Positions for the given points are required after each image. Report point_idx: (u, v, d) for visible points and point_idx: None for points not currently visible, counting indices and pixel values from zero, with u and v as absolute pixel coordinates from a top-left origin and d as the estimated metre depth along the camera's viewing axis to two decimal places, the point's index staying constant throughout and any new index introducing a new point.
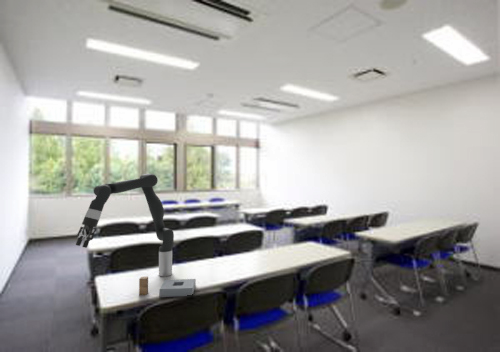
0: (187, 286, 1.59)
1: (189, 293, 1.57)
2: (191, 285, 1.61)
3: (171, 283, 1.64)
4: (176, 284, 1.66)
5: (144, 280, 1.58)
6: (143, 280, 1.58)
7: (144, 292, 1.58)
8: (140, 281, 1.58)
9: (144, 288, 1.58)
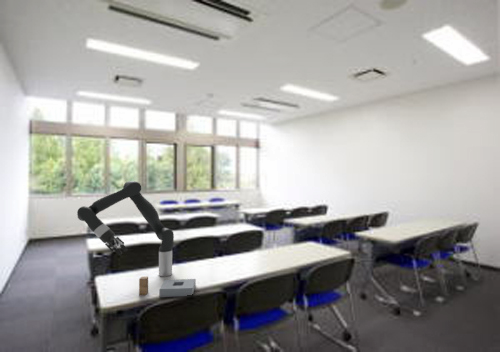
0: (187, 286, 1.59)
1: (189, 293, 1.57)
2: (191, 285, 1.61)
3: (171, 283, 1.64)
4: (176, 284, 1.66)
5: (144, 280, 1.58)
6: (143, 280, 1.58)
7: (144, 292, 1.58)
8: (140, 281, 1.58)
9: (144, 288, 1.58)
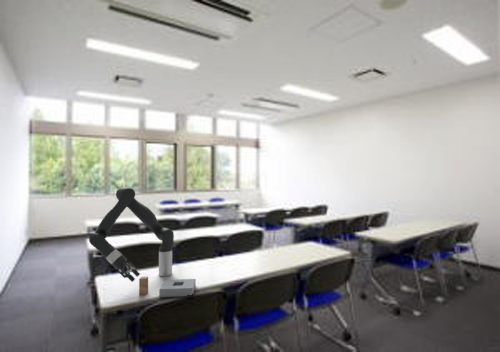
0: (187, 286, 1.59)
1: (189, 293, 1.57)
2: (191, 285, 1.61)
3: (171, 283, 1.64)
4: (176, 284, 1.66)
5: (144, 280, 1.58)
6: (143, 280, 1.58)
7: (144, 292, 1.58)
8: (140, 281, 1.58)
9: (144, 288, 1.58)
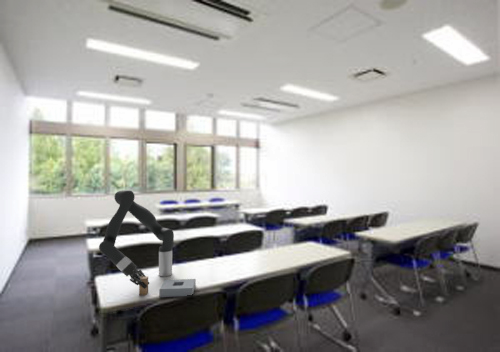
0: (187, 286, 1.59)
1: (189, 293, 1.57)
2: (191, 285, 1.61)
3: (171, 283, 1.64)
4: (176, 284, 1.66)
5: (144, 280, 1.58)
6: (143, 280, 1.58)
7: (144, 292, 1.58)
8: None
9: None
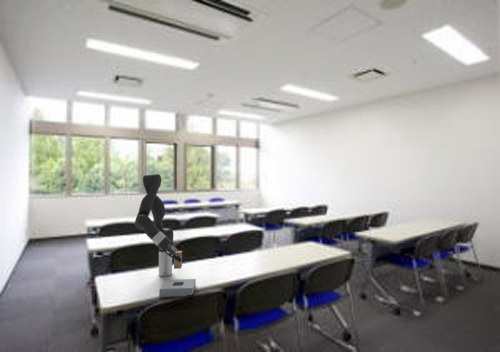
0: (187, 286, 1.59)
1: (189, 293, 1.57)
2: (191, 285, 1.61)
3: (171, 283, 1.64)
4: (176, 284, 1.66)
5: (179, 254, 1.62)
6: (178, 254, 1.62)
7: (179, 266, 1.62)
8: None
9: (179, 262, 1.62)
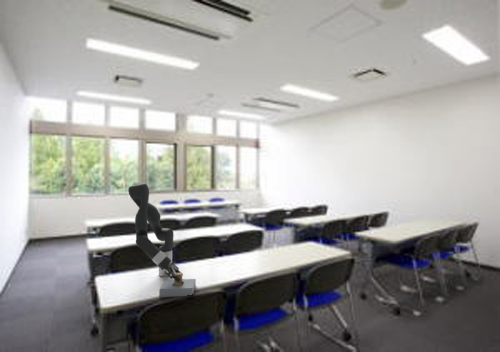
0: (187, 286, 1.59)
1: (189, 293, 1.57)
2: (191, 285, 1.61)
3: (171, 283, 1.64)
4: None
5: (179, 276, 1.62)
6: (178, 276, 1.62)
7: None
8: None
9: (179, 284, 1.62)
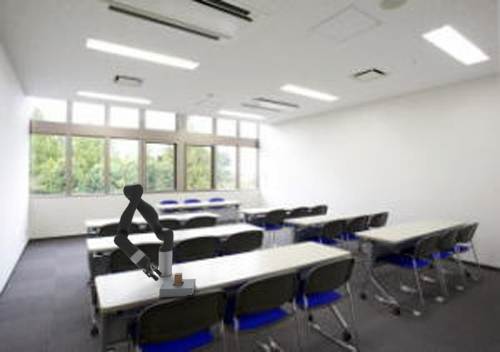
0: (187, 286, 1.59)
1: (189, 293, 1.57)
2: (191, 285, 1.61)
3: (171, 283, 1.64)
4: None
5: (179, 276, 1.62)
6: (178, 276, 1.62)
7: None
8: (175, 277, 1.62)
9: (179, 284, 1.62)
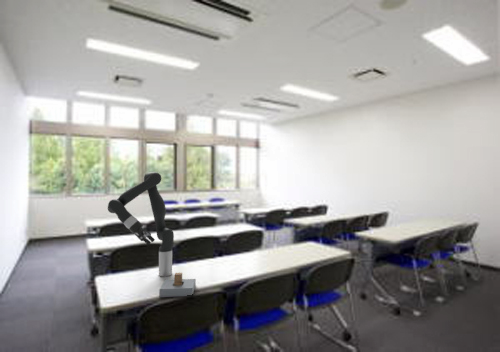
0: (187, 286, 1.59)
1: (189, 293, 1.57)
2: (191, 285, 1.61)
3: (171, 283, 1.64)
4: None
5: (179, 276, 1.62)
6: (178, 276, 1.62)
7: None
8: (175, 277, 1.62)
9: (179, 284, 1.62)
